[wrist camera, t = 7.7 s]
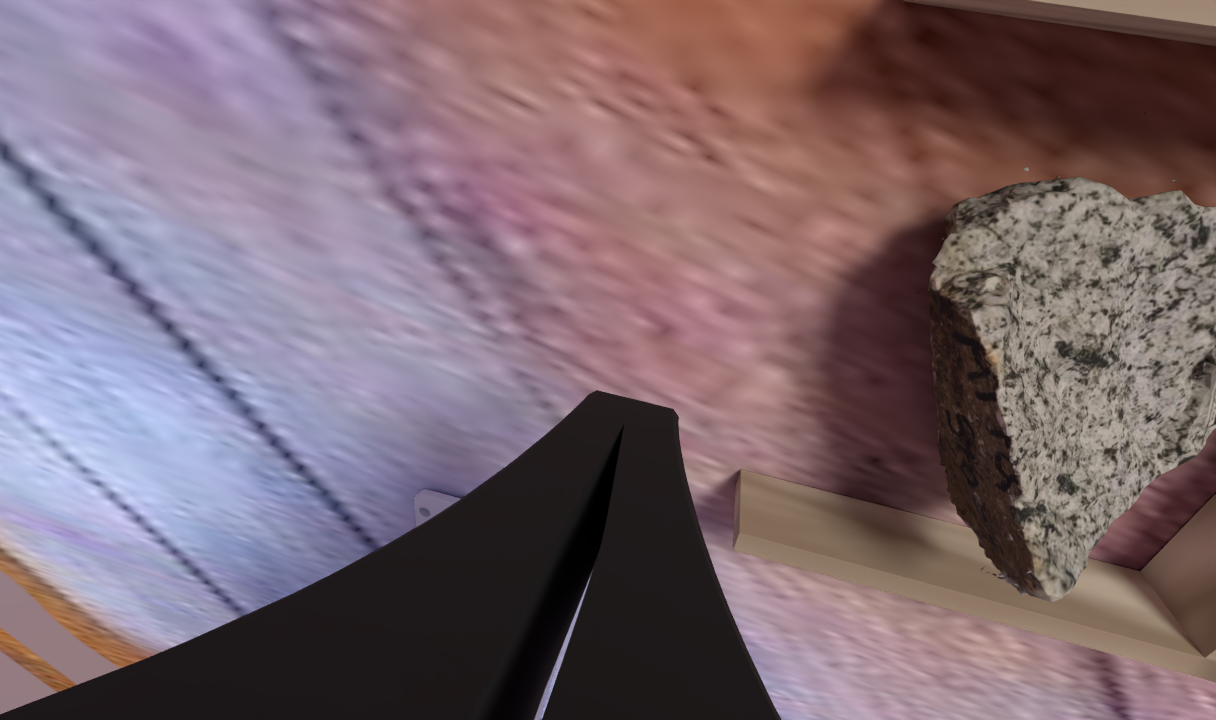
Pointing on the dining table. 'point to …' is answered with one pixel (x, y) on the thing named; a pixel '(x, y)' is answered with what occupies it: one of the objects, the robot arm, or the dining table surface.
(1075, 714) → the dining table surface
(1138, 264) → the rock sample
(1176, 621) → the tray frame
